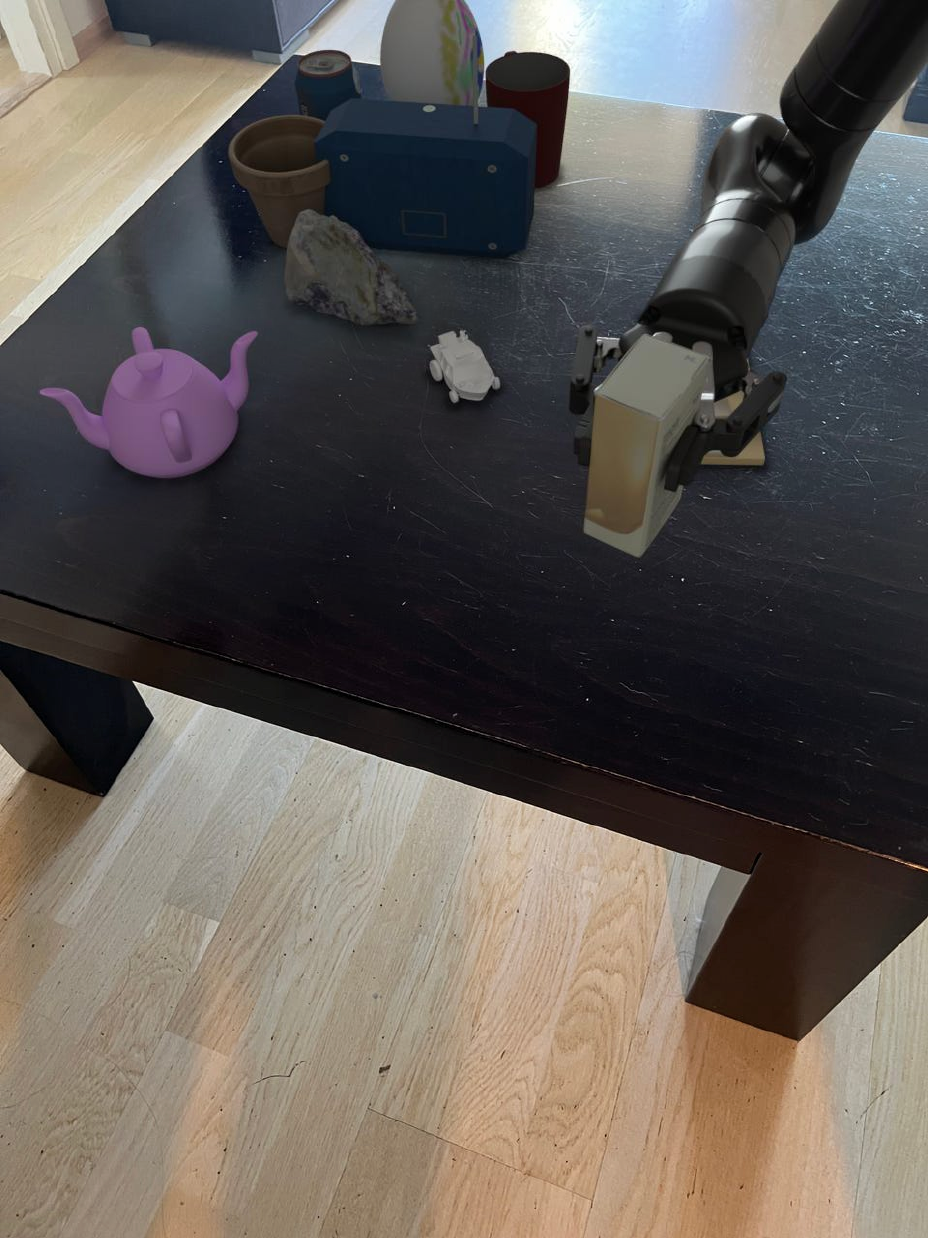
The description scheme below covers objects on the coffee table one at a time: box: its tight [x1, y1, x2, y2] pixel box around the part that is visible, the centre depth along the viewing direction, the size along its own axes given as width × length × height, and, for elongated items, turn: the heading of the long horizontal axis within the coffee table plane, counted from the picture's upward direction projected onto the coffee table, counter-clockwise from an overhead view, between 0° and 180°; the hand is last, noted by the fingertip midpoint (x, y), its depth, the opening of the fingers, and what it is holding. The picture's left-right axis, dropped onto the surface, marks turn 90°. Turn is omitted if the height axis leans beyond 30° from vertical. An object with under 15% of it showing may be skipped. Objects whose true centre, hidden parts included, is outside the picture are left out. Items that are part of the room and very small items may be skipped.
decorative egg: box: [379, 0, 485, 106], centre depth 113 cm, size 12×12×15 cm
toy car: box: [429, 329, 501, 404], centre depth 87 cm, size 5×8×4 cm, turn 26°
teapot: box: [39, 326, 258, 479], centre depth 83 cm, size 12×14×9 cm
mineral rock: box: [283, 209, 419, 327], centre depth 92 cm, size 13×11×10 cm
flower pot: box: [227, 114, 331, 249], centre depth 101 cm, size 12×11×10 cm
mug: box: [484, 50, 571, 190], centre depth 107 cm, size 12×9×11 cm
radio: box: [314, 36, 537, 260], centre depth 95 cm, size 21×9×20 cm, turn 80°
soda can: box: [294, 49, 363, 121], centre depth 107 cm, size 7×7×12 cm
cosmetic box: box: [583, 334, 709, 558], centre depth 59 cm, size 6×4×12 cm
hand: (627, 467), depth 57 cm, fingers closed on cosmetic box, 4 cm apart
